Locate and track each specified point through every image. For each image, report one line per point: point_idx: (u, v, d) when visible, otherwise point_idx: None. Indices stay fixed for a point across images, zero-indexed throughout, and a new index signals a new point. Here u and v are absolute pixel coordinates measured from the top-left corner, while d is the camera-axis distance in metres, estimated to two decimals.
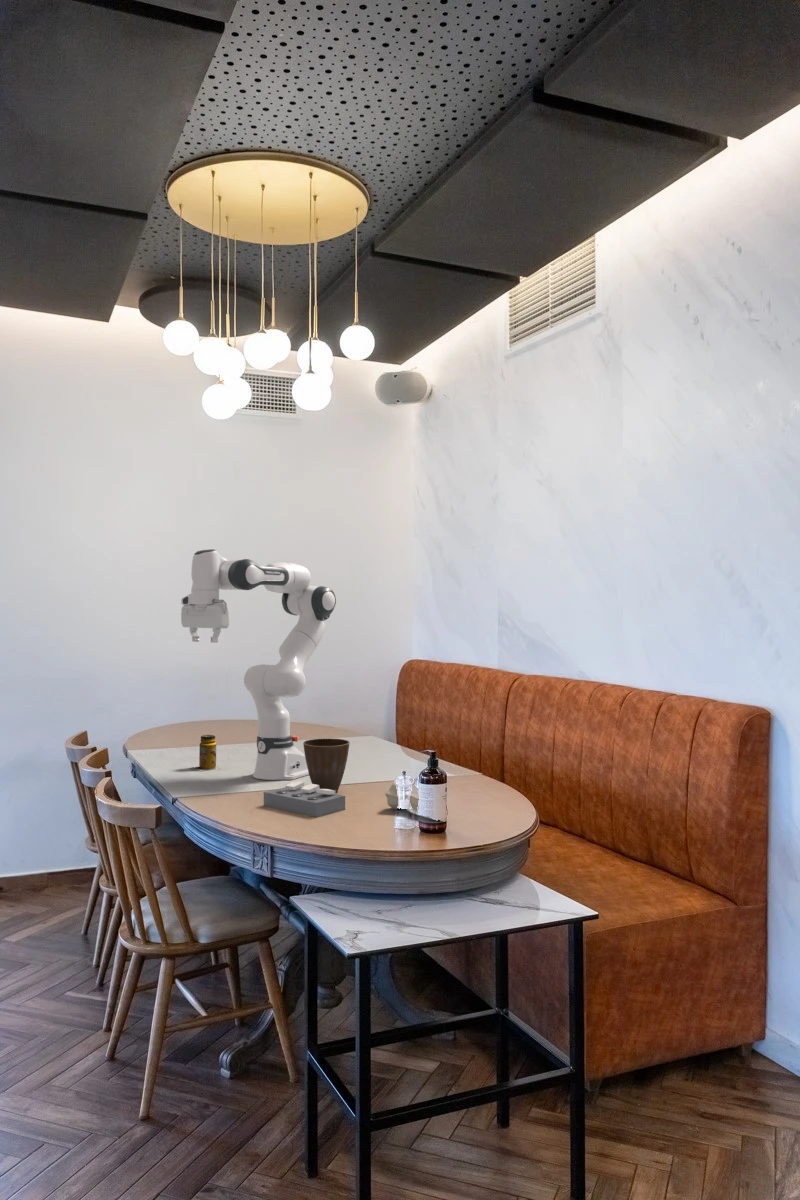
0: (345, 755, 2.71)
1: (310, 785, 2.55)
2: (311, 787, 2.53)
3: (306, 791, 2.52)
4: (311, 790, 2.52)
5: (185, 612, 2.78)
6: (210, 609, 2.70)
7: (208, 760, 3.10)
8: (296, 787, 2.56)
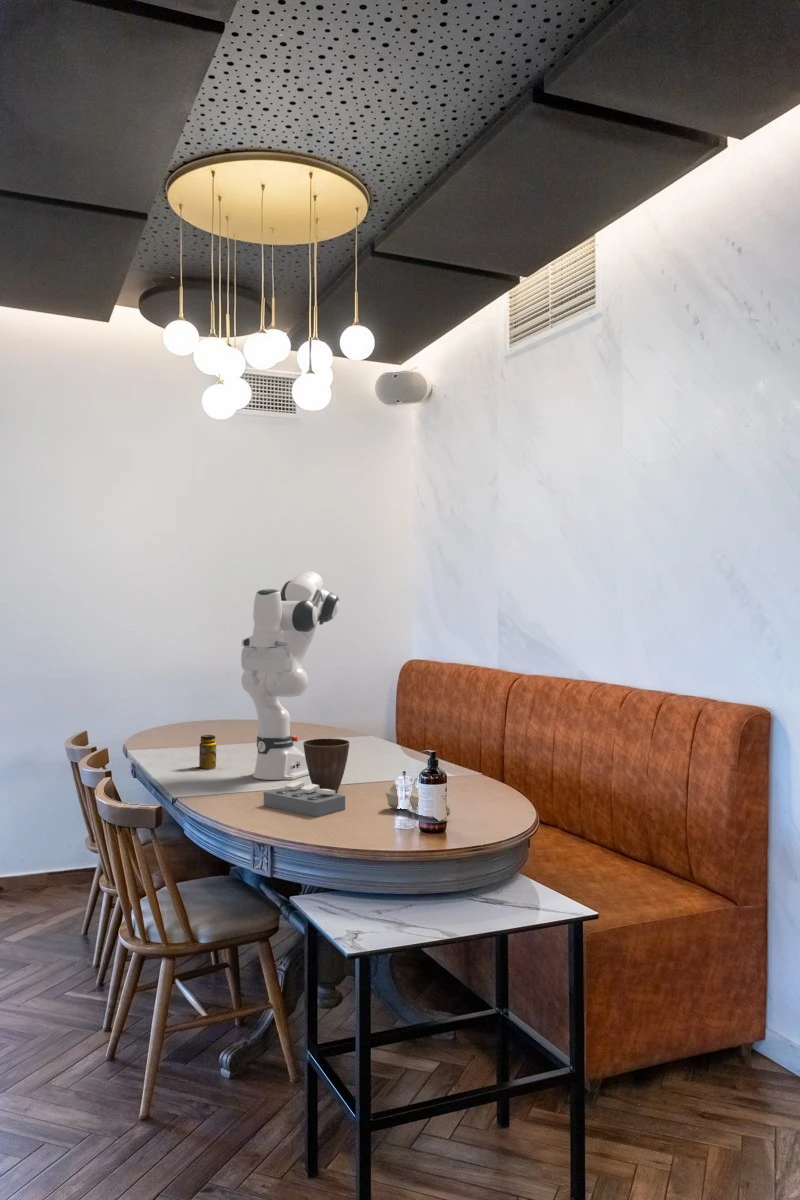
0: (345, 755, 2.71)
1: (310, 785, 2.55)
2: (311, 787, 2.53)
3: (306, 791, 2.52)
4: (311, 790, 2.52)
5: (245, 654, 2.67)
6: (273, 652, 2.59)
7: (208, 760, 3.10)
8: (296, 787, 2.56)
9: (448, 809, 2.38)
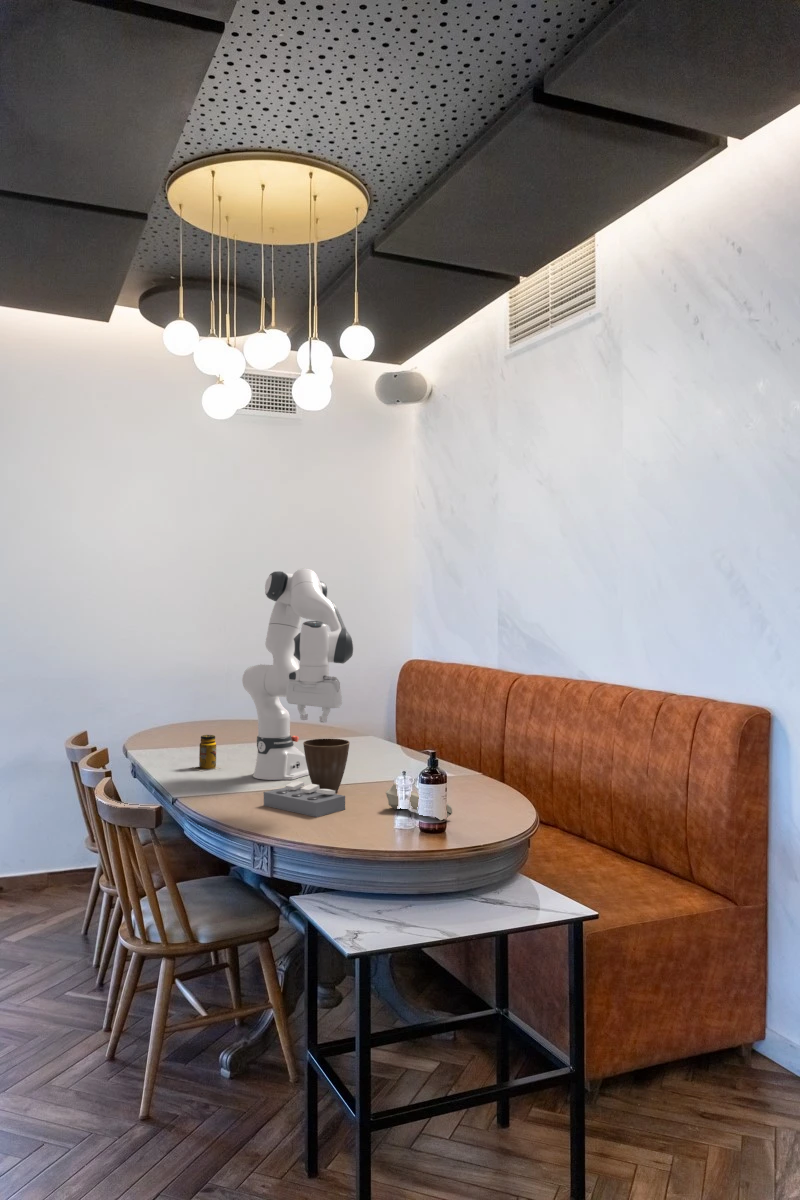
0: (345, 755, 2.71)
1: (310, 785, 2.55)
2: (311, 787, 2.53)
3: (306, 791, 2.52)
4: (311, 790, 2.52)
5: (291, 687, 2.59)
6: (321, 687, 2.51)
7: (208, 760, 3.10)
8: (296, 787, 2.56)
9: (450, 808, 2.38)
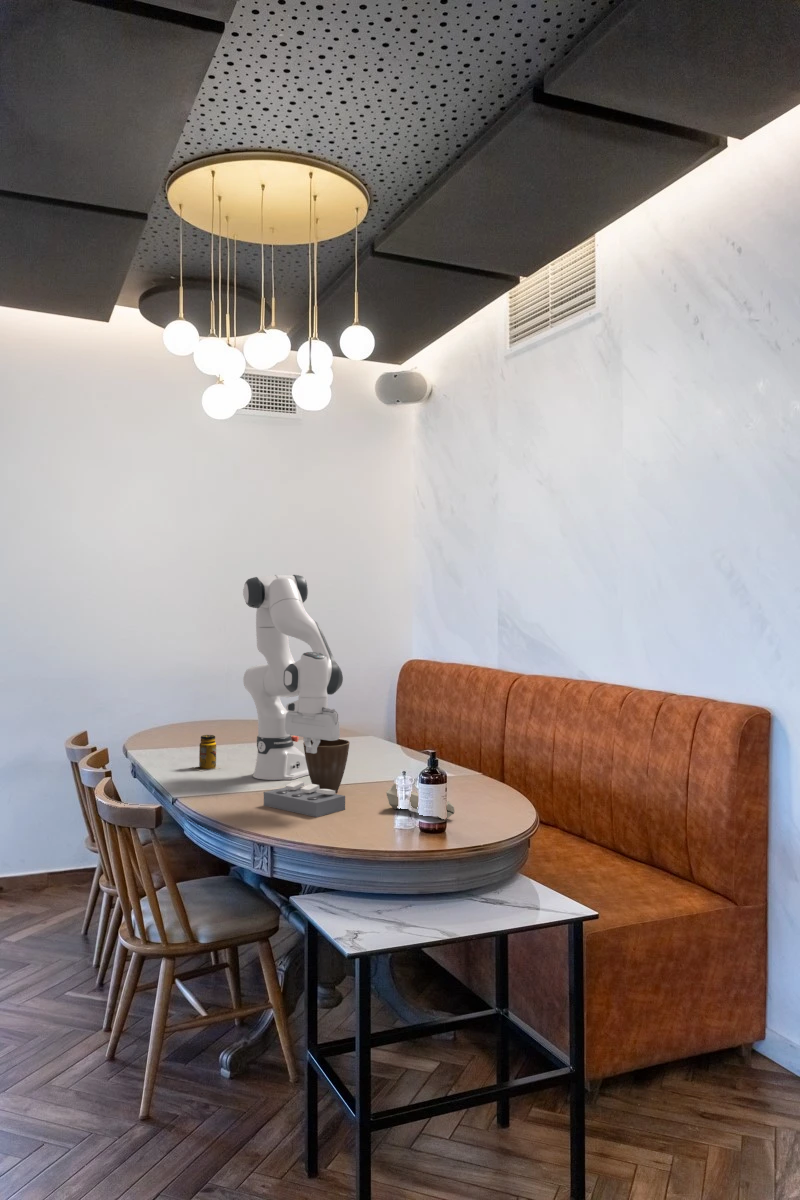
0: (345, 755, 2.71)
1: (310, 785, 2.55)
2: (311, 787, 2.53)
3: (306, 791, 2.52)
4: (311, 790, 2.52)
5: (290, 718, 2.58)
6: (319, 719, 2.50)
7: (208, 760, 3.10)
8: (296, 787, 2.56)
9: (452, 808, 2.39)
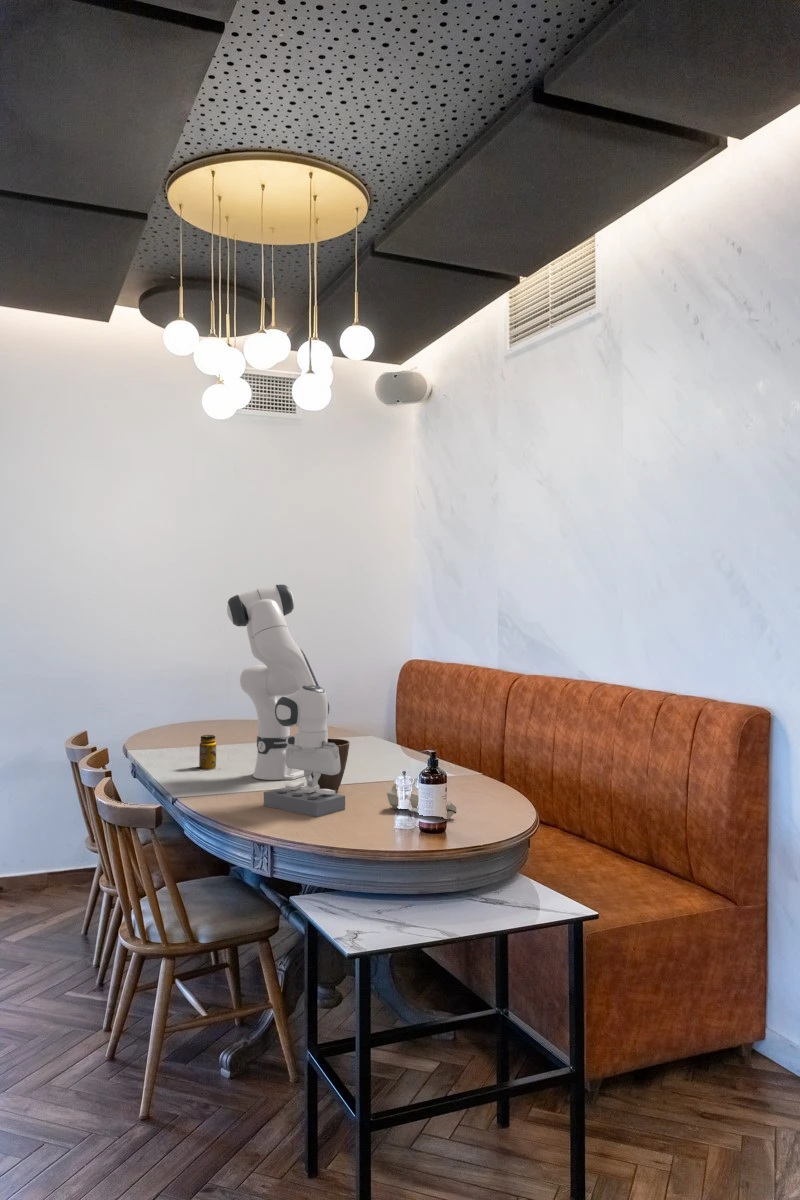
0: (345, 755, 2.71)
1: None
2: (311, 787, 2.53)
3: (306, 791, 2.52)
4: (311, 790, 2.52)
5: (290, 752, 2.58)
6: (320, 753, 2.51)
7: (208, 760, 3.10)
8: (296, 787, 2.56)
9: (454, 807, 2.40)
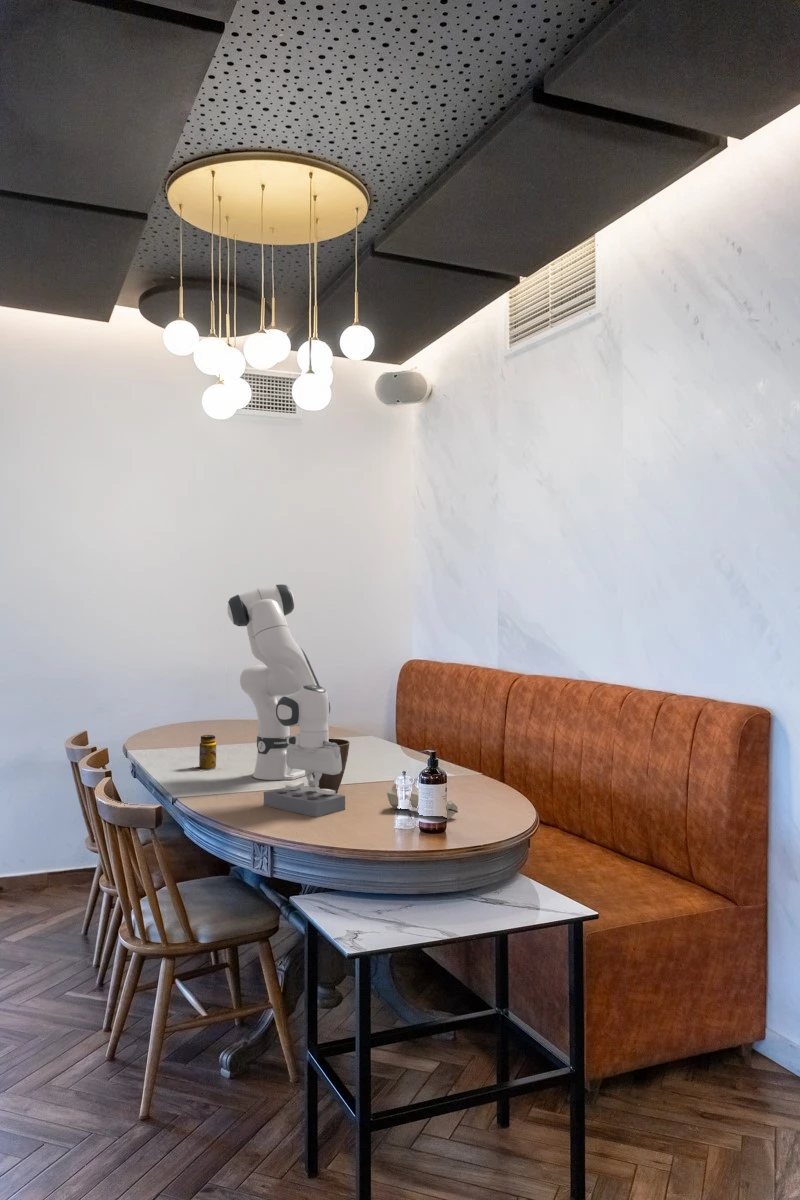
0: (345, 755, 2.71)
1: (310, 786, 2.55)
2: (311, 787, 2.53)
3: (306, 789, 2.52)
4: (311, 789, 2.52)
5: (291, 751, 2.58)
6: (321, 752, 2.51)
7: (208, 760, 3.10)
8: (296, 787, 2.56)
9: (456, 807, 2.41)
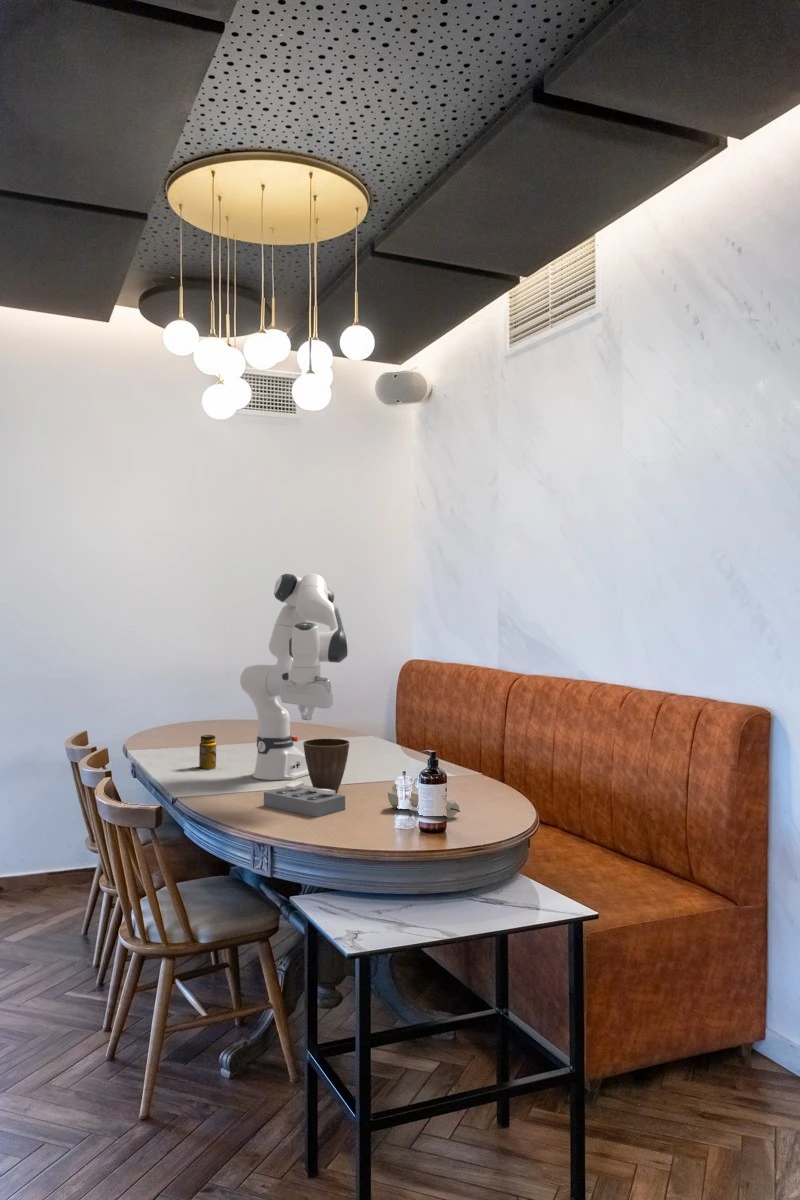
0: (345, 755, 2.71)
1: None
2: None
3: (306, 787, 2.52)
4: (311, 788, 2.52)
5: (284, 687, 2.66)
6: (313, 687, 2.58)
7: (208, 760, 3.10)
8: (296, 787, 2.56)
9: (457, 806, 2.42)
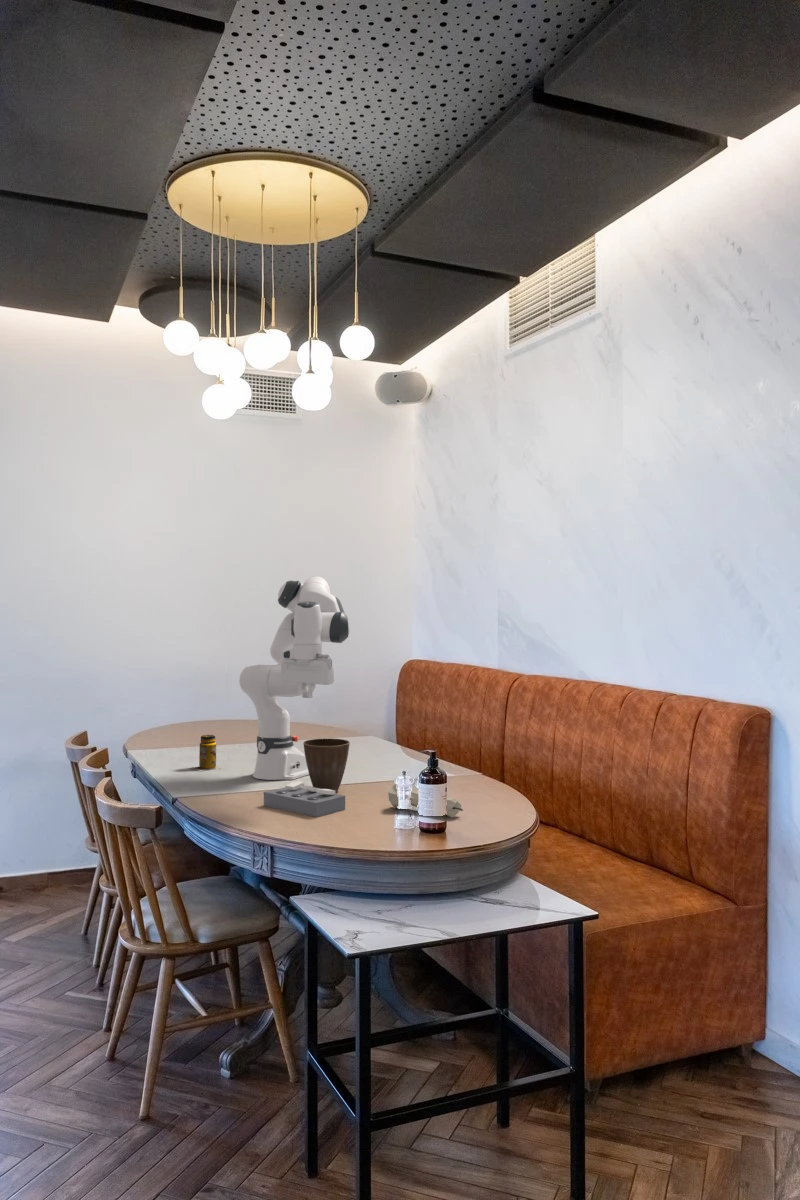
0: (345, 755, 2.71)
1: None
2: None
3: (306, 787, 2.52)
4: (311, 788, 2.52)
5: (285, 666, 2.69)
6: (314, 664, 2.61)
7: (208, 760, 3.10)
8: (296, 787, 2.56)
9: (459, 805, 2.43)
